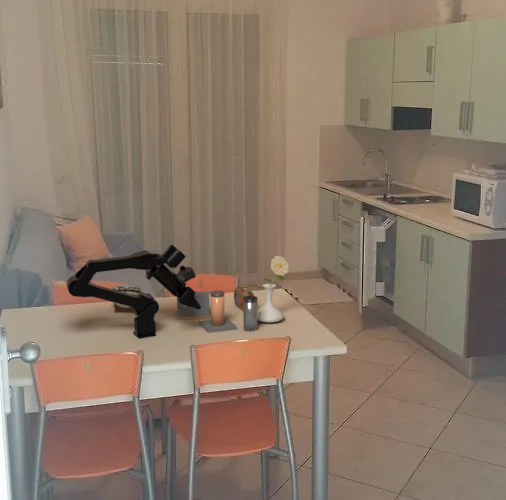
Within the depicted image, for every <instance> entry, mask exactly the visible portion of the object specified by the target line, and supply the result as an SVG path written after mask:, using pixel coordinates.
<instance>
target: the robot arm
mask: <svg viewBox="0 0 506 500" xmlns="http://www.w3.org/2000/svg"><path fill="white" fill-rule="evenodd" d="M186 257H187V256H186V255H185V254H184V253H183V252H182V251H181V250H180V249H178V248H177V247H176V246H174V244H169V246H168V248H167V249H166V250H165V251H164V252H163V253H162V254H161V253H153V252H151V251H149V250H147V249H145V250H141V251H136V252H134V253H131V254H130V255H125V256H118V257H108V258H101V259H89V260H86V261H87V262H86V263H85V264H84V265H83V266H82V267H81V268H80V269H78V270H77V272H76V273H75V274H74V275H72V276H70V277H69V278H68V279H67V280H66V284H65V285H66V288H67V291H68V293H69V294H70V295H71V296H73V297H77V298H96V299H100V300H103V301H107V302H112V303H113V302H115V303H118V304H122V305H126V306H130V307H133V308H134V313H135V314H134V315H135V316H136V317H133V321H134V322H133V325H134V331H132V333H133V335H134V336H136V337H137V338H138V339H141V338H148V337H155V336H157V333H156V328H157V327H156V320H155V316H156V314H157V313H158V312H159V309H160V305H159V302H158V301H157V300H156V299H155V298H154V296H152V294H151V293H149V292H148V293H146V292H143V291H142V290H141V291H142V292H141V291H139V295H131V294H128V293H124V292H120V291H117V290H113V289H111V288H108V287H106V286H105V287H104V286H101V285H97V284H94V283H93V282H91V280H93V278H94V276H95V275H96V273H101V272H103V273H104V272H110V271H117V270H118V271H119V270H126V269H133V270H139V271H142V270H144V271H145V278H146V279H147V281H150V280H151V279H152V278H153V279H155V280H156V281H157V282H158V283H159V284H160V285H162V286H163V288H164V289H166V290H167V291H168V292H169V293H170V294H171V295H172V296H174V297H176V301H177V300H178V301H179V302H180V303H181V304H182V305H184V306H189V307H192V308H196V309H200V308H201V306H200V305H199V303H198V302H197V300H196V299H195V292H196V291H195V290H194V289H193V288H192V287H190V286H186V285H187V282H189V281H190V280H192V279H195V278H196V277H197V274H196V272H195V271H194V269H193V268H192V267H191V266H184V265H181V266H179V265H180V264H181V263H182V262H183V261H184V260H185V259H186ZM167 266H168V267H169V268H168V267H167ZM178 266H179V267H178ZM177 267H178V268H179V271H178V272H177V273H176V272H174V271H172V270H171V269H172V268H173V269H174V268H175V269H177Z"/></svg>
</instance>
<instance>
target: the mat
mask: <svg viewBox="0 0 506 500" xmlns="http://www.w3.org/2000/svg"><path fill="white" fill-rule="evenodd" d="M224 320H225V324H224V325H222V326H213V325H211V319H204V320H199V321H198V324H199V325H200V327H202V328H203V329H204V330H205V331H206V333H208V334H209V333H216V332H217V333H218V332H225V331H234V330H235V331H236V330H238V326H237V325H236V324H235V323H234V322H233V321H231V319H229V318H227V317H224Z"/></svg>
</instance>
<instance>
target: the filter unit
mask: <svg viewBox="0 0 506 500" xmlns="http://www.w3.org/2000/svg"><path fill="white" fill-rule="evenodd" d="M195 299H196V300H197V302H198V303H199V305H200V306H201V308H200V309H196V308H192V307H189V306H184V305H182V304H181V303H180V302H179V301H178V300H177V299H176V306H177V307H176V308H177V309H176V311H175V314H174V321H175V320H211V310H210V291H195Z"/></svg>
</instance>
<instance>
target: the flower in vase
mask: <svg viewBox="0 0 506 500" xmlns="http://www.w3.org/2000/svg"><path fill="white" fill-rule="evenodd" d="M270 266H271V270H272V272H273V273H274V275H273V277H272V279H269V278H267V277H265V276H264V277H263V278H264V280H265V281H268V282H270V283H265V284H262V287H263V288H264V291H265V303H264V305H263V306H262V307H261V308H259V309H257V322H258V321H259V322H262V323H277V322H280V321H283V319H284V318H285V315H284V313H283V312H282V311H281V310H280V309H278V308H277V307H276V306H275V304H273V293H274V290H275V288H276V286H277V285H276V283H275V284H274V283H273V281H274V280H276V281H277V282H282V281H284V280H285V279H286V278H285V277H284V276H285V274H288V273H289V269H290V268H289V267H290V266H289V263H288V260H287V259H285V257H284V256H282V255H276V256H274V258H272V259H271V261H270Z"/></svg>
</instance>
